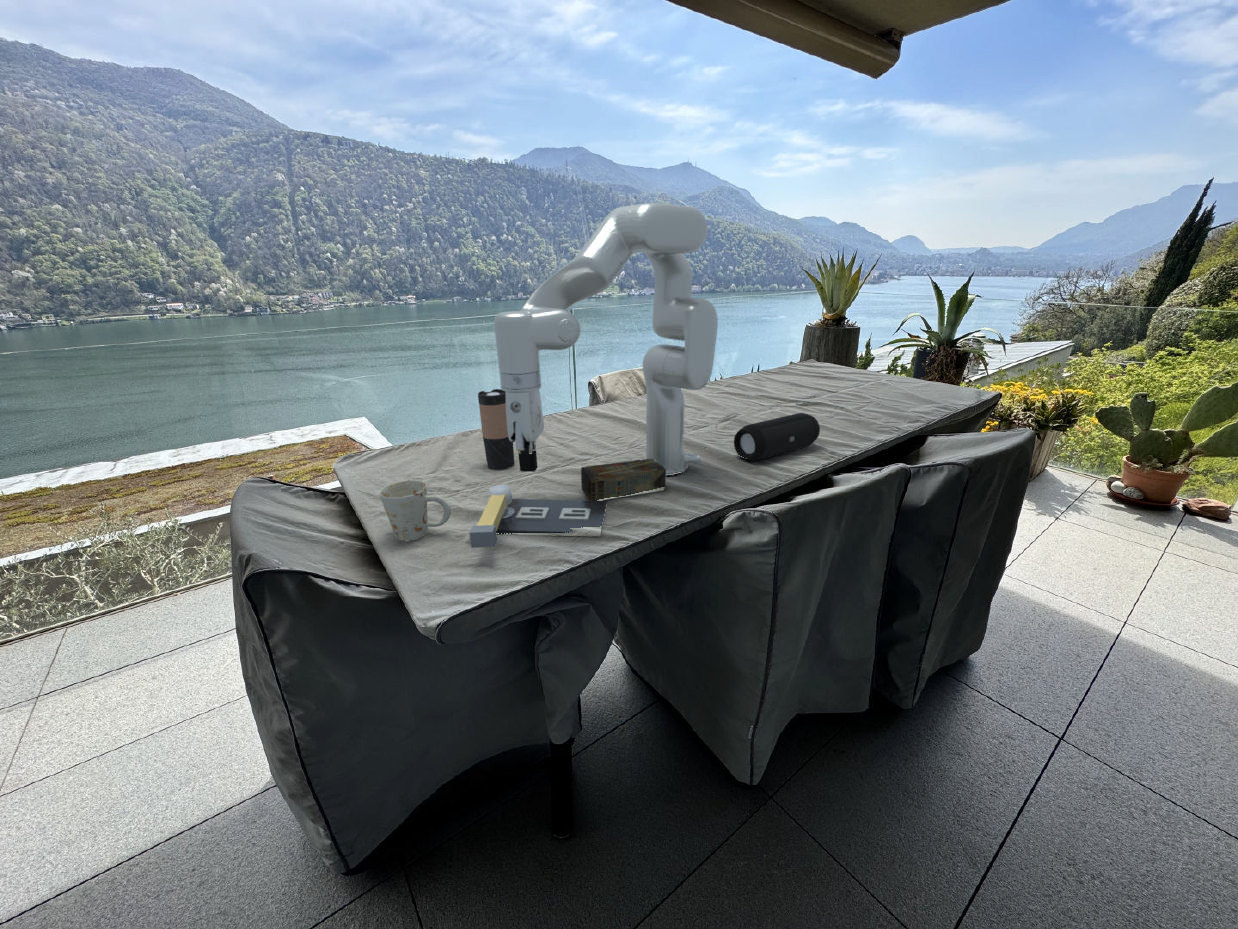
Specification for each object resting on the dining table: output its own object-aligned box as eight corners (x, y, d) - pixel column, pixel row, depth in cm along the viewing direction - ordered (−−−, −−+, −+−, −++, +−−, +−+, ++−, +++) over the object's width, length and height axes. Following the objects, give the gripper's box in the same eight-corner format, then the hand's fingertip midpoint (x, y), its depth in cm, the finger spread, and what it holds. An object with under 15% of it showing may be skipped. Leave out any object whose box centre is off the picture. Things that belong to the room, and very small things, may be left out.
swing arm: (495, 546, 84) (493, 531, 83) (470, 547, 84) (468, 532, 83) (513, 497, 102) (512, 484, 101) (493, 498, 102) (491, 484, 101)
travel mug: (508, 471, 125) (500, 396, 118) (481, 469, 127) (471, 395, 119) (519, 460, 132) (512, 389, 125) (494, 458, 134) (485, 388, 126)
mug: (397, 524, 99) (388, 480, 95) (459, 521, 100) (452, 477, 96) (382, 545, 92) (372, 498, 88) (449, 542, 92) (441, 495, 89)
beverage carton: (667, 492, 113) (667, 466, 110) (589, 505, 107) (587, 478, 104) (653, 479, 120) (654, 454, 117) (579, 491, 114) (578, 465, 111)
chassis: (607, 504, 106) (606, 490, 105) (600, 537, 93) (599, 521, 92) (501, 502, 108) (499, 488, 107) (480, 534, 95) (478, 518, 94)
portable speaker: (756, 467, 125) (760, 431, 122) (730, 456, 133) (732, 422, 130) (819, 449, 138) (825, 415, 134) (792, 440, 146) (796, 408, 142)
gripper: (530, 389, 83) (538, 485, 90) (548, 372, 97) (554, 457, 103) (488, 389, 83) (499, 485, 90) (512, 372, 97) (520, 456, 104)
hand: (528, 469), depth 97 cm, fingers closed
